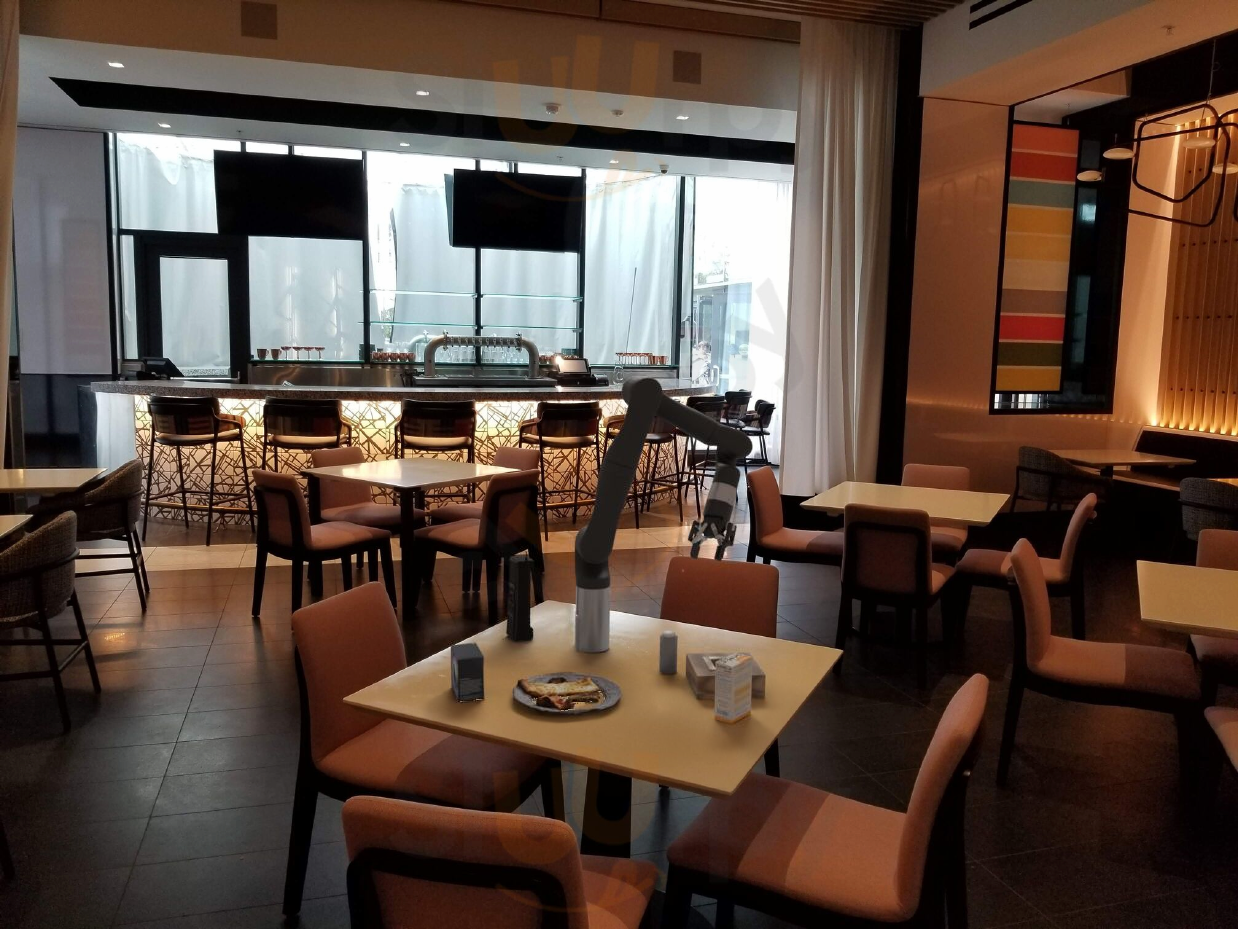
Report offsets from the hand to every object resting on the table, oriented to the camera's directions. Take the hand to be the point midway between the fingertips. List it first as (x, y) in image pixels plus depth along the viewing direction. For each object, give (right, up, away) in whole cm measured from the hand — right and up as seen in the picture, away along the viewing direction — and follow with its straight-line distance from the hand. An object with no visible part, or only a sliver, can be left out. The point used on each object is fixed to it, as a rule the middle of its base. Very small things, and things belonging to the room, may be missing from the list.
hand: (705, 559), depth 240 cm
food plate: (-35, -29, -33) cm, 56 cm away
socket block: (+2, -28, -23) cm, 37 cm away
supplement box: (+2, -30, -42) cm, 52 cm away
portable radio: (-51, -23, +12) cm, 57 cm away
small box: (-58, -28, -31) cm, 72 cm away
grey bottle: (-11, -27, -13) cm, 32 cm away
